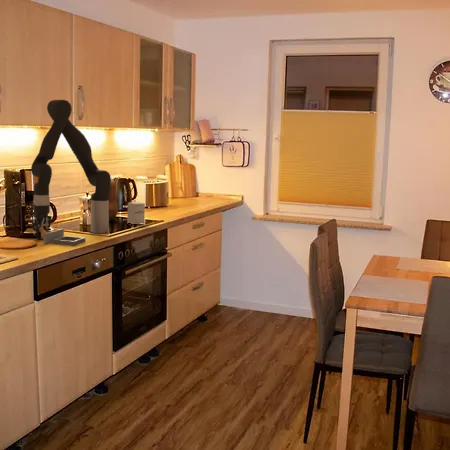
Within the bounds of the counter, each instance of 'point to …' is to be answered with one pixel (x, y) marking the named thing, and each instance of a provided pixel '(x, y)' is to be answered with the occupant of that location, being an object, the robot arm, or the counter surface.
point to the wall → (52, 235)
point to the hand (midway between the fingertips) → (41, 237)
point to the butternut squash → (112, 201)
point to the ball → (42, 233)
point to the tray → (68, 240)
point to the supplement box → (136, 212)
